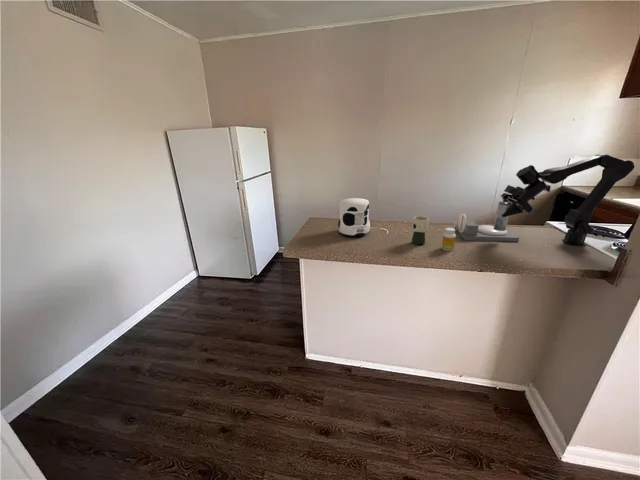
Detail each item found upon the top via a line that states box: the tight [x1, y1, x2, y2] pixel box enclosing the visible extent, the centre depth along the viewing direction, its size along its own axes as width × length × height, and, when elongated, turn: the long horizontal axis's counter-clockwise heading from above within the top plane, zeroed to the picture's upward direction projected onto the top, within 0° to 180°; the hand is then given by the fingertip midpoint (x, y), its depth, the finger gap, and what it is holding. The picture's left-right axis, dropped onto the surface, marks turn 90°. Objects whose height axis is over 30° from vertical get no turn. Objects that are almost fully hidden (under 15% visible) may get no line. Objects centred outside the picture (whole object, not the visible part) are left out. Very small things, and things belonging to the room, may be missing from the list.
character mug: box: [411, 215, 430, 245], centre depth 131 cm, size 11×7×13 cm, turn 169°
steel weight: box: [493, 201, 512, 231], centre depth 128 cm, size 5×5×13 cm
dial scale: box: [454, 213, 520, 242], centre depth 140 cm, size 24×18×11 cm
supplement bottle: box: [440, 227, 457, 252], centre depth 124 cm, size 5×5×10 cm
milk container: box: [337, 197, 371, 237], centre depth 146 cm, size 17×17×18 cm
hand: (499, 215), depth 128 cm, fingers closed on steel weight, 5 cm apart
